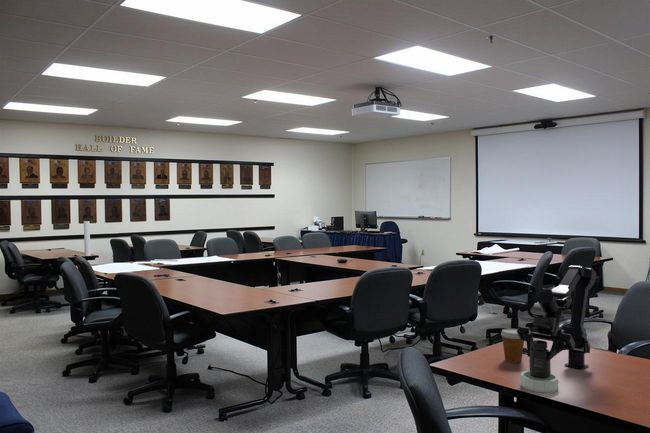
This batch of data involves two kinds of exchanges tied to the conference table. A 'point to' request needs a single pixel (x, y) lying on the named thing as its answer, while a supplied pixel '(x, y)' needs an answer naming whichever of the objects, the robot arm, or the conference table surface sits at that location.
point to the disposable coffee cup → (512, 345)
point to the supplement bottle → (539, 360)
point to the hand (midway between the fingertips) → (537, 357)
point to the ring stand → (539, 383)
